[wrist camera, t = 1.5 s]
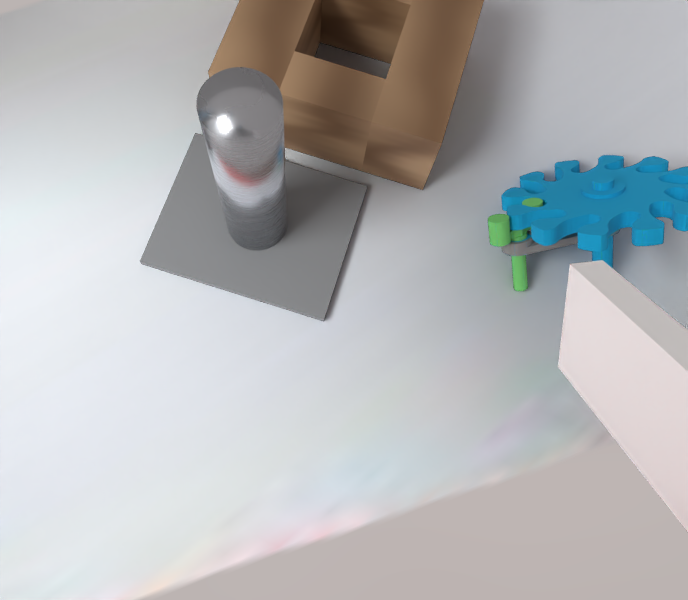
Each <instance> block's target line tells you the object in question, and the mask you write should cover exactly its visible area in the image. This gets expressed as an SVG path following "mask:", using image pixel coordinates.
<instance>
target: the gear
mask: <svg viewBox="0 0 688 600" xmlns="http://www.w3.org/2000/svg"><path fill="white" fill-rule="evenodd" d="M555 179H556V180H557V181H545V180H544V173H542V172H532V173H529V174H526V175H523V176H521V177H520V188H517V187H514V188H510V189H508V190H507V191H505V192H504V193H503V194H502V208H503V210H504V211H507V215H506V214H495V215H492V216H490V217H489V218H488V227H489V238H490V244H491V245H493V246H497V247H499V246H502V252H503V253H504V254H506V255H509V256H511V257H512V271H513V285H514V290H516V291H524V290H526V289H527V288H528V282H527V265H526V255H527V254H532V253H537V252H541V251H546V250H550V249H555V248H559V247H564V246H568V245H573V244H577V243H578V248H579V249H582V250H587V251H592V261H599V260H603V261H604V262H605V263H607V264H608V265H609V266H610V267H611V268H613V235H615V234H617V233H618V232H619V230H620V229H621V228H625V227H632V243H633V244H634V245H635V246H650V245H658V244H663V242H664V225H665V224H664V222H662V221H661V220H658V219H656V217H666V218H670V219H672V220H673V227H674V228H675V229H677V230H680V231H688V167H682V168H679V169H676V170H672V171H668V161H667V160H665V159H663V158H659V157H655V156H652V157H647V158H645V159H643V160H642V161H641V162H639V163H637V164H635V165H632V166H629V167H625V168H624V157H623V156H615V155H603V156H601V157H599V159H598V165H597V166H596V167H594V168H593V169H591V170H589V171H587V172H583V173H580V170H579V161H577V160H573V161H563V162H557V163H556V164H555ZM530 229H531V232H530V231H528V230H530Z"/></svg>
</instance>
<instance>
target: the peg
mask: <svg viewBox="0 0 688 600" xmlns="http://www.w3.org/2000/svg"><path fill="white" fill-rule="evenodd" d="M197 112H198V116H199V119H200V123H201V127H202V131H203V135H204V139H205V143H206V147H207V150H208V154H209V158H210V162H211V166H212V170H213V174H214V178H215V181H216V185H217V189H218V193H219V197H220V201H221V205H222V209H223V212H224V216H225V220H226V224H227V228H228V232H229V234H230V236H231V237H232V239H233V240H234V241H235V242H236V243H237V244H238V245H240V246H241V247H243V248H246V249H249V250H265V249H268V248H271V247H272V246H274V245H276V244H277V243H278V242H279V241H280V240H281V239H282V238H283V236H284V234H285V232H286V229H287V201H286V172H285V143H284V115H283V98H282V94H281V92H280V90H279V88H278V86H277V85H276V83H275V82H274V81H273V80H272V79H271V78H270V77H269V76H267V75H266V74H264V73H262V72H260V71H258V70H255V69H251V68H246V67H234V68H228V69H225V70H222V71H220V72H218V73H216V74H214V75H213V76H211V77H210V78H209V79H208V80H207V81H206V82H205V83H204V84H203V86H202V87H201V89H200V91H199V94H198V97H197Z"/></svg>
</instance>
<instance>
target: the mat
mask: <svg viewBox="0 0 688 600" xmlns="http://www.w3.org/2000/svg"><path fill="white" fill-rule="evenodd" d="M285 172H286V201H287V229H286V232H285V234H284V236H283V238H282V239H281V240H280V241H279V242H278V243H277V244H276V245H274V246H272V247H271V248H268V249H265V250H249V249H246V248H243V247H241V246H240V245H238V244H237V243H236V242H235V241H234V240H233V239H232V237H231V236H230V234H229V232H228V228H227V224H226V220H225V216H224V212H223V209H222V205H221V201H220V197H219V193H218V189H217V185H216V181H215V178H214V174H213V170H212V166H211V162H210V158H209V154H208V150H207V147H206V143H205V139H204V135H201V134H197V133H195V135H194V137H193V140H192V142H191V144H190V147H189V149H188V151H187V153H186V156H185V158H184V160H183V163H182V165H181V167H180V170H179V172H178V174H177V177H176V179H175V181H174V184H173V186H172V188H171V191H170V193H169V195H168V197H167V200H166V202H165V204H164V207H163V209H162V211H161V214H160V216H159V218H158V221H157V223H156V225H155V228H154V230H153V232H152V235H151V237H150V239H149V241H148V244H147V246H146V248H145V251H144V253H143V255H142V258H141V260H140V262H141V264H143V265H146V266H150V267H153V268H156V269H159V270H162V271H166V272H169V273H172V274H175V275H178V276H181V277H185V278H188V279H191V280H194V281H197V282H201V283H204V284H207V285H210V286H213V287H216V288H220V289H223V290H226V291H229V292H232V293H236V294H239V295H242V296H245V297H248V298H251V299H255V300H258V301H261V302H264V303H267V304H271V305H274V306H277V307H280V308H283V309H286V310H290V311H293V312H296V313H299V314H302V315H306V316H309V317H312V318H315V319H318V320H321V321H324V318H325V315H326V312H327V309H328V306H329V303H330V300H331V297H332V294H333V291H334V288H335V285H336V282H337V279H338V276H339V273H340V269H341V266H342V263H343V260H344V257H345V254H346V251H347V248H348V245H349V242H350V239H351V236H352V233H353V230H354V227H355V224H356V221H357V217H358V214H359V211H360V208H361V205H362V202H363V199H364V196H365V193H366V190H367V186H365V185H362V184H359V183H356V182H353V181H349V180H346V179H343V178H340V177H336V176H333V175H330V174H327V173H323V172H320V171H317V170H314V169H311V168H307V167H304V166H301V165H298V164H294V163H291V162H288V161H285Z"/></svg>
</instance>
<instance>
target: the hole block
mask: <svg viewBox="0 0 688 600" xmlns="http://www.w3.org/2000/svg"><path fill="white" fill-rule="evenodd" d="M483 2H484V0H240V1H239V3H238V5H237V7H236V10H235V12H234V14H233V17H232V19H231V21H230V23H229V26H228V28H227V30H226V33H225V35H224V37H223V39H222V42H221V44H220V46H219V48H218V51H217V53H216V55H215V58H214V60H213V62H212V64H211V67H210V69H209V71H208V73H209V78H210V77H211V76H213V75H214V74H216V73H218V72H220V71H222V70H225V69H228V68H234V67H246V68H251V69H255V70H258V71H260V72H262V73H264V74H266V75H267V76H269V77H270V78H271V79H272V80H273V81H274V82H275V83H276V85H277V86H278V88H279V90H280V92H281V94H282V98H283V115H284V143H285V148H289V149H292V150H295V151H298V152H302V153H305V154H308V155H311V156H315V157H318V158H321V159H324V160H328V161H331V162H334V163H337V164H340V165H344V166H347V167H350V168H353V169H357V170H360V171H363V172H366V173H370V174H373V175H376V176H379V177H383V178H386V179H389V180H392V181H395V182H399V183H402V184H405V185H408V186H412V187H415V188H418V189H421V190H423V188H424V186H425V183H426V181H427V178H428V176H429V173H430V171H431V169H432V166H433V164H434V161H435V159H436V156H437V154H438V152H439V149H440V147H441V144H442V141H443V138H444V134H445V131H446V128H447V124H448V121H449V117H450V114H451V111H452V107H453V104H454V100H455V97H456V94H457V90H458V87H459V83H460V80H461V77H462V73H463V70H464V66H465V63H466V60H467V56H468V53H469V49H470V46H471V43H472V39H473V36H474V32H475V29H476V26H477V22H478V19H479V15H480V12H481V9H482V5H483ZM320 42H321V43H324V44H327V45H331V46H334V47H337V48H341V49H344V50H347V51H350V52H354V53H357V54H360V55H363V56H367V57H370V58H373V59H377V60H380V61H383V62H386V63H390V64H391V65H390V68H389V71H388V74H387V77H386V79H384V78H381V77H378V76H374V75H371V74H368V73H365V72H361V71H358V70H355V69H352V68H348V67H345V66H342V65H338V64H335V63H332V62H329V61H325V60H322V59H319V58H316V57H314V56H315V54H316V51H317V48H318V46H319V43H320Z"/></svg>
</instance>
